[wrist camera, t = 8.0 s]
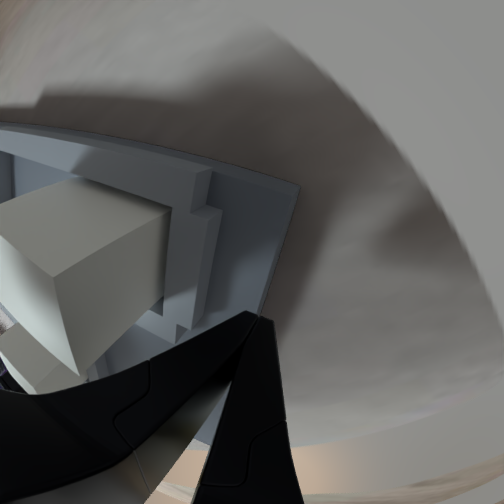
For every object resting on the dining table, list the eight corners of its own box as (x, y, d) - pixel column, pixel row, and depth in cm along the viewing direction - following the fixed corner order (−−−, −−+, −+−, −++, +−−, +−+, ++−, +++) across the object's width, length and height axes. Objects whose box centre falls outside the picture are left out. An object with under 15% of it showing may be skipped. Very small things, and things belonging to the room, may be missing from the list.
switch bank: (219, 430, 17) (204, 457, 15) (13, 292, 21) (-3, 304, 19) (301, 183, 9) (286, 200, 7) (-7, 120, 13) (-31, 125, 11)
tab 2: (93, 371, 17) (51, 416, 12) (50, 337, 18) (9, 373, 13) (85, 339, 15) (33, 388, 11) (40, 305, 16) (-8, 341, 12)
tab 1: (166, 291, 11) (79, 376, 6) (81, 248, 12) (-2, 300, 7) (175, 207, 9) (53, 277, 5) (79, 175, 10) (-23, 214, 6)
